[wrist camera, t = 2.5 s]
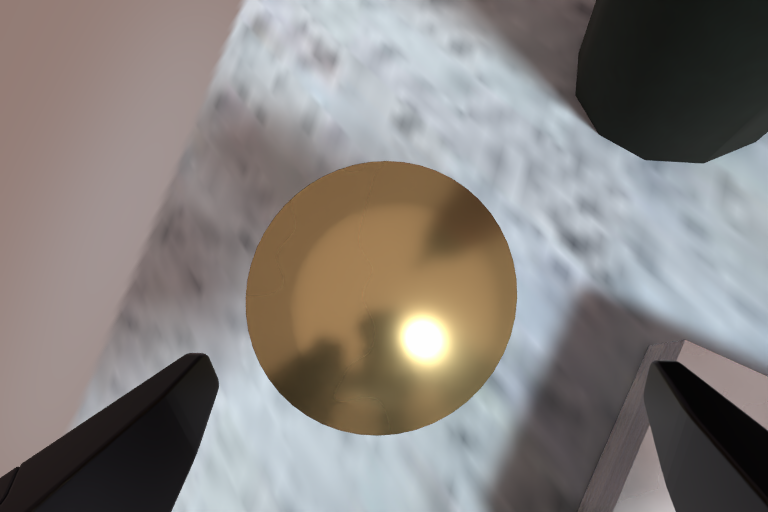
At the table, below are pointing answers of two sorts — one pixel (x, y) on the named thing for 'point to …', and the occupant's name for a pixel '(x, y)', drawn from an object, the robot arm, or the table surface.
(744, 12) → the wine bottle
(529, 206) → the table surface
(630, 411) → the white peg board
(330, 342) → the gold metal cylinder
